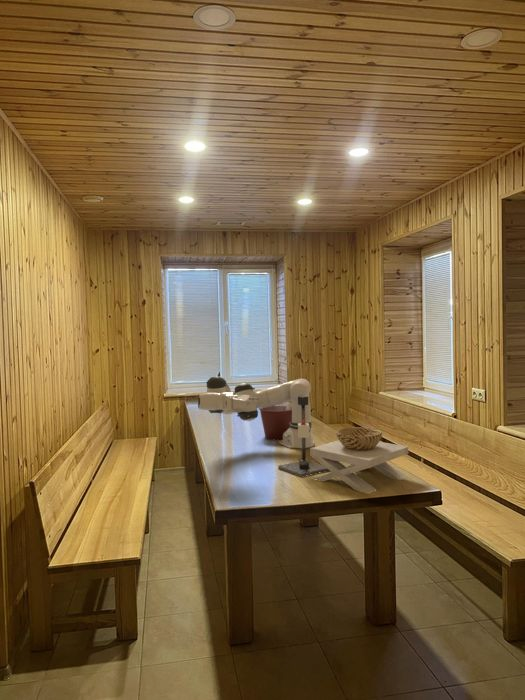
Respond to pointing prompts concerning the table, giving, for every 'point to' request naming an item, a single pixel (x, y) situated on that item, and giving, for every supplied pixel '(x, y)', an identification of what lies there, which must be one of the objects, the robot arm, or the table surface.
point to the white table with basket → (358, 456)
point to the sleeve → (303, 430)
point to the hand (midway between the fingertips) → (258, 401)
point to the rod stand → (303, 452)
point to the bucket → (276, 421)
